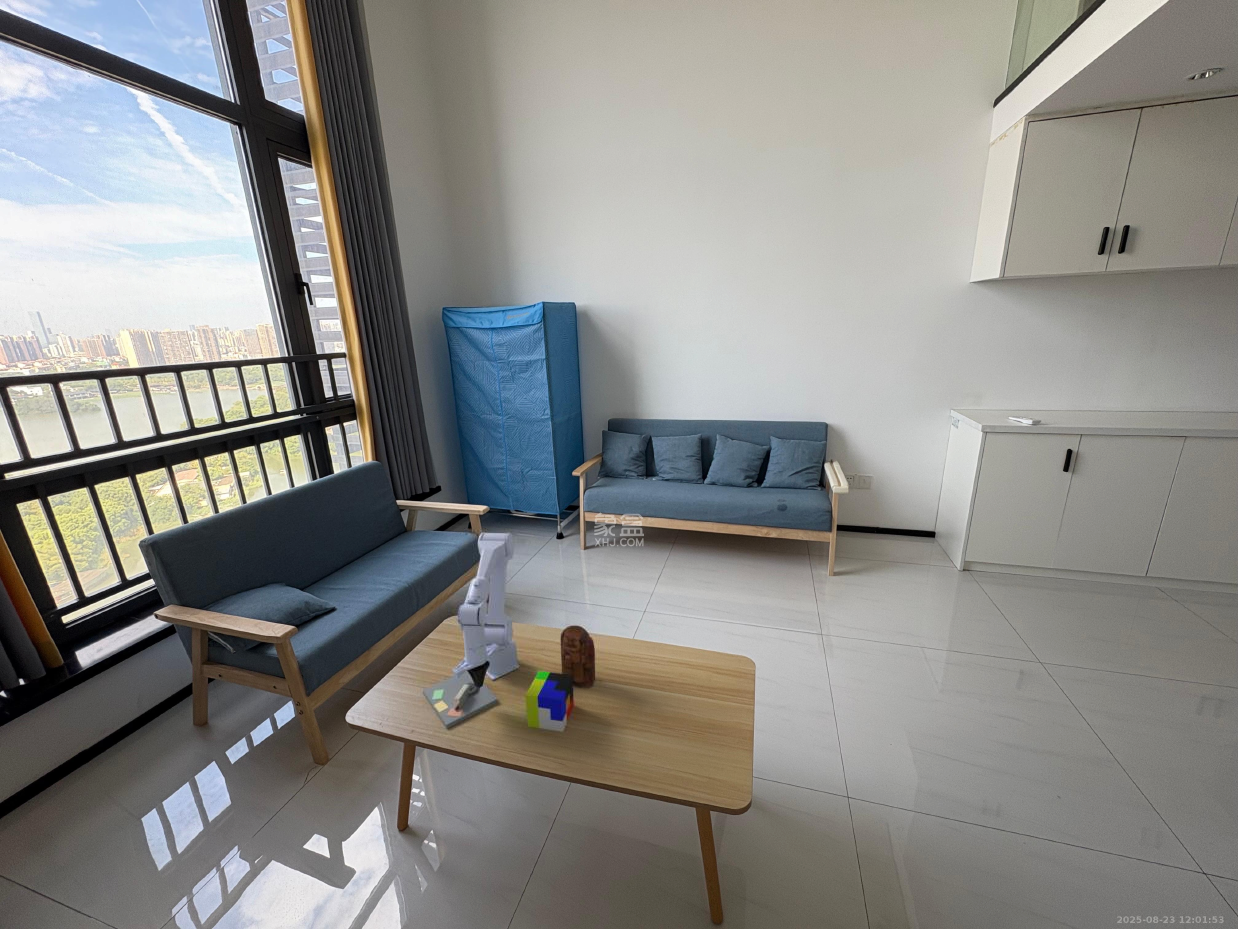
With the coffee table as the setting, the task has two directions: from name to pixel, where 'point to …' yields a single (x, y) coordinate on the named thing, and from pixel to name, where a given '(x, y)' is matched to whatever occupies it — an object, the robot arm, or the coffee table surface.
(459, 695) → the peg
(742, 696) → the coffee table surface
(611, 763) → the coffee table surface
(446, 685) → the tuner board
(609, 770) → the coffee table surface
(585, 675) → the wooden figurine
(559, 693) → the puzzle toy
